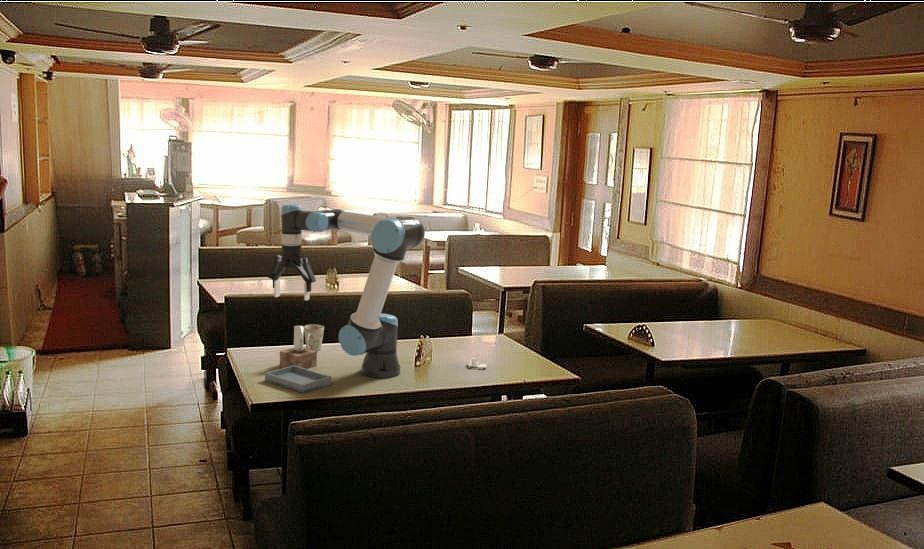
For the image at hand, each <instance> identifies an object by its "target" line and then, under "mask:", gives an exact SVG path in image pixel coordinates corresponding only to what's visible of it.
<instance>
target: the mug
mask: <svg viewBox="0 0 924 549" xmlns="http://www.w3.org/2000/svg"><path fill="white" fill-rule="evenodd" d="M303 326H304V339H305V340H304V341H305V348H306V349H310V350H313V351H317V352H320V351H321V350H322V343H323V338H324V330H325V326H324V325H322V324H314V323H313V324H306V325H303Z"/></svg>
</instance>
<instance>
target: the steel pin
mask: <svg viewBox="0 0 924 549" xmlns="http://www.w3.org/2000/svg"><path fill="white" fill-rule="evenodd" d="M304 326H305V325H294V326H293V330H294V331H293V348H294V353H296V354H300V353H303V348H304V337H305V333H304Z"/></svg>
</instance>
